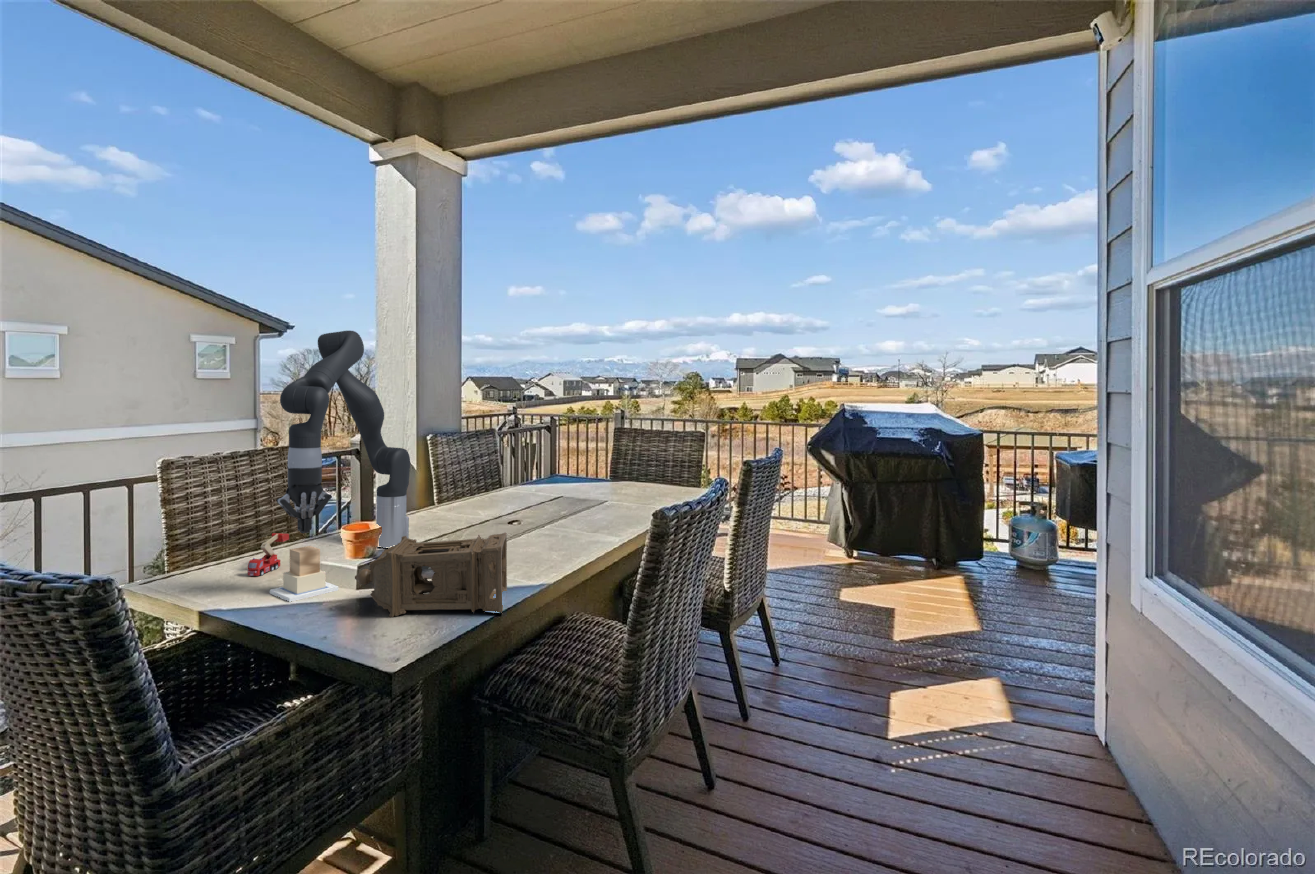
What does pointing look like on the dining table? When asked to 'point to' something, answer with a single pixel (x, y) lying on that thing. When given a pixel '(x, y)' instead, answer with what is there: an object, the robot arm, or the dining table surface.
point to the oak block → (304, 560)
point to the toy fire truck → (266, 557)
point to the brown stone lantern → (440, 575)
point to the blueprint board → (302, 596)
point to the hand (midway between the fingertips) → (304, 532)
